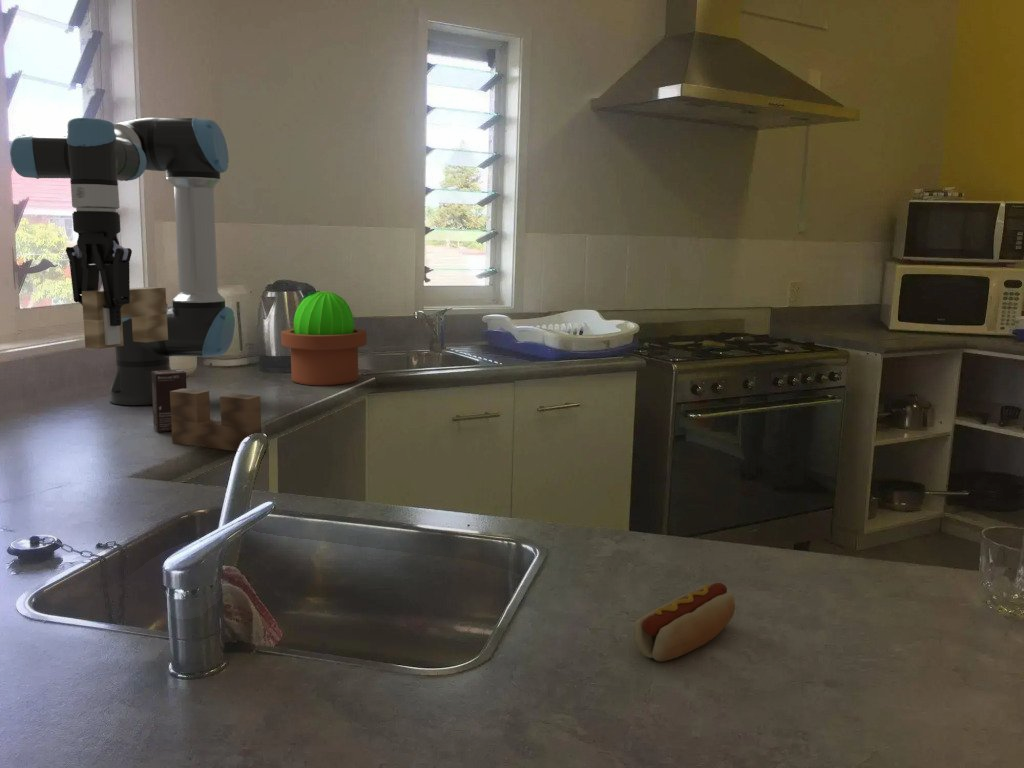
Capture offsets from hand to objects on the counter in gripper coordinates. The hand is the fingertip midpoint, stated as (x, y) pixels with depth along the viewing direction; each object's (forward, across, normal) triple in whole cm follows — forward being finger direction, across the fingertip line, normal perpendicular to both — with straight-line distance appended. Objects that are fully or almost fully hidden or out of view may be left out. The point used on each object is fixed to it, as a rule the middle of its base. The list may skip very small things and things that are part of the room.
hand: (104, 343), depth 158 cm
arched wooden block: (+1, 0, +6) cm, 6 cm away
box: (+20, -3, +18) cm, 27 cm away
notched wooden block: (+20, +14, +12) cm, 27 cm away
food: (+20, +113, -31) cm, 119 cm away
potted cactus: (+20, -11, +82) cm, 85 cm away
